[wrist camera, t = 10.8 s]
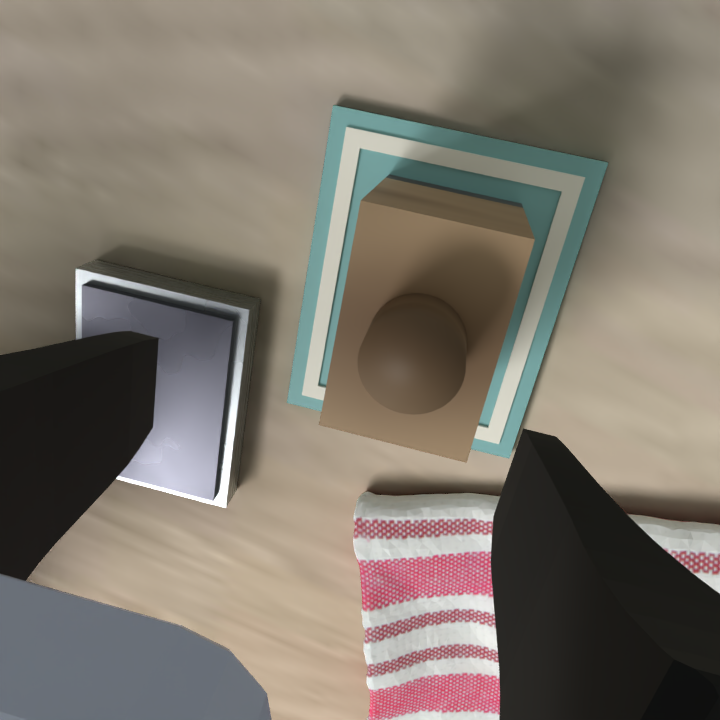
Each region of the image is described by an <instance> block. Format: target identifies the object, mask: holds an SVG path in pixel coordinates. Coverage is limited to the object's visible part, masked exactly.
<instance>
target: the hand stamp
mask: <svg viewBox="0 0 720 720" xmlns="http://www.w3.org/2000/svg"><path fill="white" fill-rule="evenodd" d="M534 241H535V238H534V235H533V233H532V230H531V227H530V225H529V222H528V219H527V217H526V214H525V211H524V209H523V206H522V203H517V202H513V201H508V200H504V199H499V198H495V197H490V196H486V195H481V194H477V193H472V192H467V191H463V190H458V189H454V188H449V187H445V186H440V185H436V184H431V183H427V182H422V181H418V180H413V179H409V178H404V177H399V176H395V175H390V174H389V175H388V176H387V177H386V178H384V179H383V180H382V181H381V182H380V183H379V184H378V185H377V186H376V187H375V188H374V189H373V190H371V191H370V192H369V193H368V194H367V195H366V196H365V197H364V198H363V199H362V200H361V202H360V207H359V212H358V218H357V223H356V228H355V234H354V239H353V245H352V250H351V255H350V261H349V266H348V271H347V277H346V282H345V288H344V293H343V298H342V304H341V309H340V314H339V320H338V325H337V331H336V336H335V341H334V347H333V352H332V357H331V363H330V368H329V374H328V379H327V384H326V390H325V395H324V400H323V406H322V411H321V417H320V422H319V425H321V426H325V427H329V428H333V429H337V430H341V431H345V432H349V433H352V434H356V435H360V436H364V437H368V438H372V439H376V440H380V441H384V442H388V443H392V444H396V445H399V446H403V447H407V448H411V449H415V450H419V451H423V452H427V453H431V454H435V455H439V456H442V457H446V458H450V459H454V460H458V461H462V462H466V463H467V460H468V456H469V453H470V450H471V446H472V443H473V440H474V437H475V433H476V430H477V427H478V424H479V420H480V417H481V414H482V411H483V407H484V404H485V401H486V398H487V394H488V391H489V388H490V385H491V381H492V378H493V375H494V372H495V368H496V365H497V362H498V359H499V355H500V352H501V349H502V346H503V342H504V339H505V336H506V332H507V329H508V326H509V323H510V319H511V316H512V313H513V310H514V306H515V303H516V300H517V297H518V293H519V290H520V287H521V284H522V280H523V277H524V274H525V271H526V267H527V264H528V261H529V258H530V254H531V251H532V248H533V245H534Z"/></svg>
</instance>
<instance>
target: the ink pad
mask: <svg viewBox="0 0 720 720" xmlns="http://www.w3.org/2000/svg"><path fill="white" fill-rule="evenodd" d="M260 301H261V299H259V298H255V297H251V296H247V295H242V294H238V293H234V292H230V291H226V290H221V289H217V288H213V287H209V286H204V285H200V284H196V283H192V282H188V281H183V280H179V279H175V278H171V277H167V276H162V275H158V274H154V273H150V272H146V271H141V270H137V269H133V268H129V267H125V266H120V265H116V264H112V263H108V262H104V261H99V260H93V261H91V262H89V263H87V264H84V265H82V266H80V267H78V268H76V340H77V339H81V338H86V337H91V336H96V335H101V334H106V333H112V332H119V331H133V332H137V333H141V334H145V335H149V336H153V337H157V338H159V341H158V357H157V373H156V389H155V406H154V422H153V429H152V430H151V432H150V433H149V435H148V436H147V438H146V439H145V441H144V442H143V444H142V446H141V447H140V449H139V450H138V451H137V453H136V454H135V456H134V457H133V459H132V460H131V461H130V463H129V464H128V465H127V467H126V468H125V469H124V470H123V471H122V472H121V473H120V475H119V476H118V477H117V478H116V479H119V480H123V481H126V482H130V483H134V484H138V485H141V486H145V487H149V488H153V489H156V490H160V491H164V492H168V493H171V494H175V495H179V496H182V497H186V498H190V499H194V500H197V501H201V502H205V503H209V504H212V505H216V506H220V507H224V508H226V507H227V505H228V503H229V502H230V500H231V498H232V497H233V495H234V493H235V492H236V490H237V484H238V476H239V468H240V460H241V452H242V444H243V436H244V428H245V420H246V412H247V404H248V396H249V389H250V381H251V373H252V365H253V357H254V349H255V341H256V333H257V325H258V317H259V309H260Z"/></svg>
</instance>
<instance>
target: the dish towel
mask: <svg viewBox="0 0 720 720" xmlns="http://www.w3.org/2000/svg"><path fill="white" fill-rule="evenodd" d="M499 498H500V496H491V495H486V494H475V493H453V494H420V495H402V496H397V495H376V494H373V493H371V492H364V493H363V494H362V495H361V496H359V498H358V500H357V504H356V508H355V512H354V516H353V518H354V522H355V529H354V536H353V544H354V551H355V554H356V557H357V560H358V563H359V567H360V576H361V587H362V610H361V614H362V617H363V622H362V624H363V627H364V629H365V639H364V649H363V651H364V654H365V660H366V663H367V666H368V672H367V681H366V683H367V685H368V688H369V690H370V709H369V712H370V714H369V716H368V717H367V720H499V716H500V678H499V660H498V648H497V636H496V625H495V613H494V601H493V588H492V575H491V544H492V529H493V516H494V513H495V510H496V507H497V504H498V501H499ZM626 514H627V513H626ZM627 515H628V516H629V517H630V518H631V519H632V520H633V521H634V522H635V523H636V524H637V525H638V526H639V527H640V528H641V529H643V530H644V531H645V532H646V533H647V534H648V535H649V536H650V537H651V538H652V539H653V540H654V541H655V542H656V543H657V544H659V545H660V546H661V547H662V548H663V549H664V550H665V551H667V552H668V553H669V554H670V555H671V556H673V557H674V558H675V559H676V560H677V561H679V562H680V563H681V564H682V565H683V566H685V567H686V568H687V569H688V570H689V571H691V572H692V573H693V574H694V575H696V576H697V577H698V578H700V579H701V580H702V581H703V582H705V583H706V584H707V585H709V586H710V587H711V588H713V589H714V590H715V591H717V592H718V593H720V525H718V524H709V523H699V522H690V521H678V520H670V519H663V518H657V517H652V516H644V515H635V514H627Z"/></svg>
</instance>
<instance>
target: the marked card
mask: <svg viewBox="0 0 720 720" xmlns="http://www.w3.org/2000/svg"><path fill="white" fill-rule="evenodd" d="M607 165H608V162H605V161H600V160H595V159H590V158H586V157H581V156H576V155H571V154H566V153H562V152H557V151H552V150H547V149H543V148H538V147H533V146H528V145H523V144H519V143H514V142H509V141H504V140H500V139H495V138H490V137H485V136H480V135H476V134H471V133H466V132H461V131H457V130H452V129H447V128H442V127H438V126H433V125H428V124H423V123H418V122H414V121H409V120H404V119H399V118H395V117H390V116H385V115H380V114H375V113H371V112H366V111H361V110H356V109H352V108H347V107H342V106H337V105H333V110H332V116H331V122H330V129H329V135H328V142H327V148H326V155H325V161H324V167H323V174H322V180H321V187H320V193H319V200H318V206H317V212H316V219H315V225H314V232H313V238H312V245H311V251H310V258H309V264H308V270H307V277H306V283H305V290H304V296H303V303H302V309H301V315H300V322H299V328H298V335H297V341H296V348H295V354H294V360H293V367H292V373H291V380H290V386H289V393H288V399H287V403H290V404H294V405H298V406H302V407H306V408H310V409H314V410H318V411H322V406H323V400H324V395H325V390H326V384H327V379H328V374H329V368H330V363H331V357H332V352H333V347H334V341H335V336H336V331H337V325H338V320H339V314H340V309H341V304H342V298H343V293H344V288H345V282H346V277H347V271H348V266H349V261H350V255H351V250H352V245H353V239H354V234H355V228H356V223H357V218H358V212H359V207H360V202H361V200H362V199H363V198H364V197H365V196H366V195H367V194H368V193H369V192H370V191H371V190H373V189H374V188H375V187H376V186H377V185H378V184H379V183H380V182H381V181H382V180H383V179H384V178H386V177H387V176H388V175H389V174H390V175H395V176H399V177H404V178H409V179H413V180H418V181H422V182H427V183H431V184H436V185H440V186H445V187H449V188H454V189H458V190H463V191H467V192H472V193H477V194H481V195H486V196H490V197H495V198H499V199H504V200H508V201H513V202H517V203H522V206H523V209H524V211H525V214H526V217H527V219H528V222H529V225H530V227H531V230H532V233H533V235H534V238H535V241H534V245H533V248H532V251H531V254H530V258H529V261H528V264H527V267H526V271H525V274H524V277H523V280H522V284H521V287H520V290H519V293H518V297H517V300H516V303H515V306H514V310H513V313H512V316H511V319H510V323H509V326H508V329H507V332H506V336H505V339H504V342H503V346H502V349H501V352H500V355H499V359H498V362H497V365H496V368H495V372H494V375H493V378H492V381H491V385H490V388H489V391H488V394H487V398H486V401H485V404H484V407H483V411H482V414H481V417H480V420H479V424H478V427H477V430H476V433H475V437H474V440H473V443H472V446H471V449H473V450H477V451H481V452H485V453H489V454H493V455H497V456H501V457H505V458H510V455H511V452H512V449H513V446H514V443H515V440H516V437H517V434H518V431H519V428H520V425H521V422H522V419H523V416H524V413H525V410H526V407H527V404H528V401H529V398H530V395H531V392H532V389H533V386H534V383H535V380H536V377H537V374H538V371H539V368H540V365H541V362H542V359H543V356H544V353H545V350H546V347H547V344H548V341H549V338H550V335H551V332H552V329H553V326H554V323H555V320H556V317H557V314H558V311H559V308H560V305H561V302H562V300H563V297H564V294H565V291H566V288H567V285H568V282H569V279H570V276H571V273H572V270H573V267H574V264H575V261H576V258H577V255H578V252H579V249H580V246H581V243H582V240H583V237H584V234H585V231H586V228H587V225H588V222H589V219H590V216H591V213H592V210H593V207H594V204H595V201H596V198H597V195H598V192H599V189H600V186H601V183H602V180H603V177H604V174H605V171H606V168H607Z"/></svg>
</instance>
